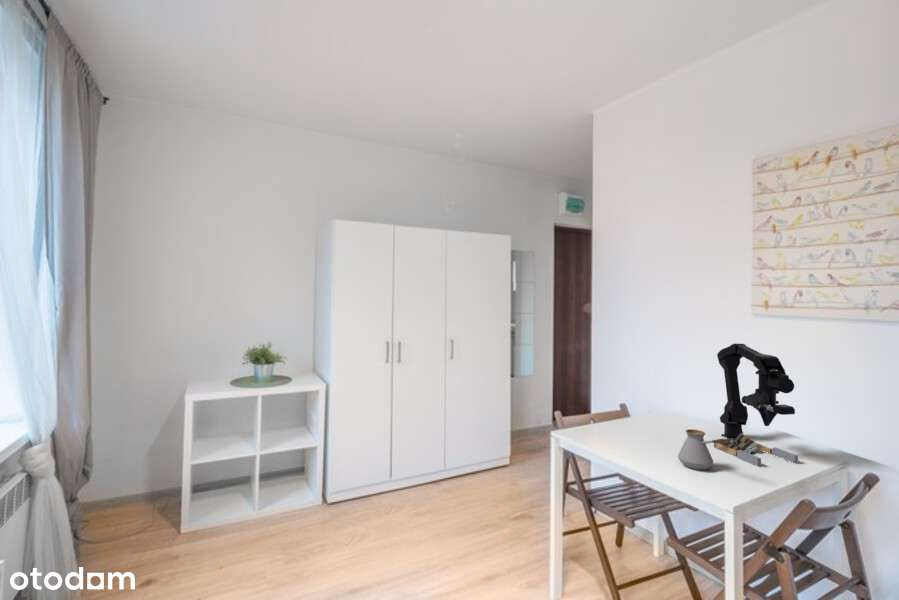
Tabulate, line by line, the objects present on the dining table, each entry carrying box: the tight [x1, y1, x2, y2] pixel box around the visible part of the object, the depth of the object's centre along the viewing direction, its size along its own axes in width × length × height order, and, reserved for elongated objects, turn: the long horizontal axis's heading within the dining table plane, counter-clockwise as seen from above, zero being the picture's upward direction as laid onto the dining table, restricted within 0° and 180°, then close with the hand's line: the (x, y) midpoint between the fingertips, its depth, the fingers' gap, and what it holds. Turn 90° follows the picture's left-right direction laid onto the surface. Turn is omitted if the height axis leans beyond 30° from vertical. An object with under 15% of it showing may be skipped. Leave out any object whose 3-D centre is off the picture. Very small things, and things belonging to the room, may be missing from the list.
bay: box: [736, 446, 799, 467], centre depth 163 cm, size 9×18×3 cm, turn 100°
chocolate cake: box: [727, 431, 757, 455], centre depth 173 cm, size 10×7×12 cm
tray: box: [713, 441, 773, 458], centre depth 173 cm, size 11×17×2 cm, turn 100°
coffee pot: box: [677, 428, 737, 471], centre depth 152 cm, size 21×12×15 cm, turn 19°
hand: (766, 426), depth 169 cm, fingers closed
